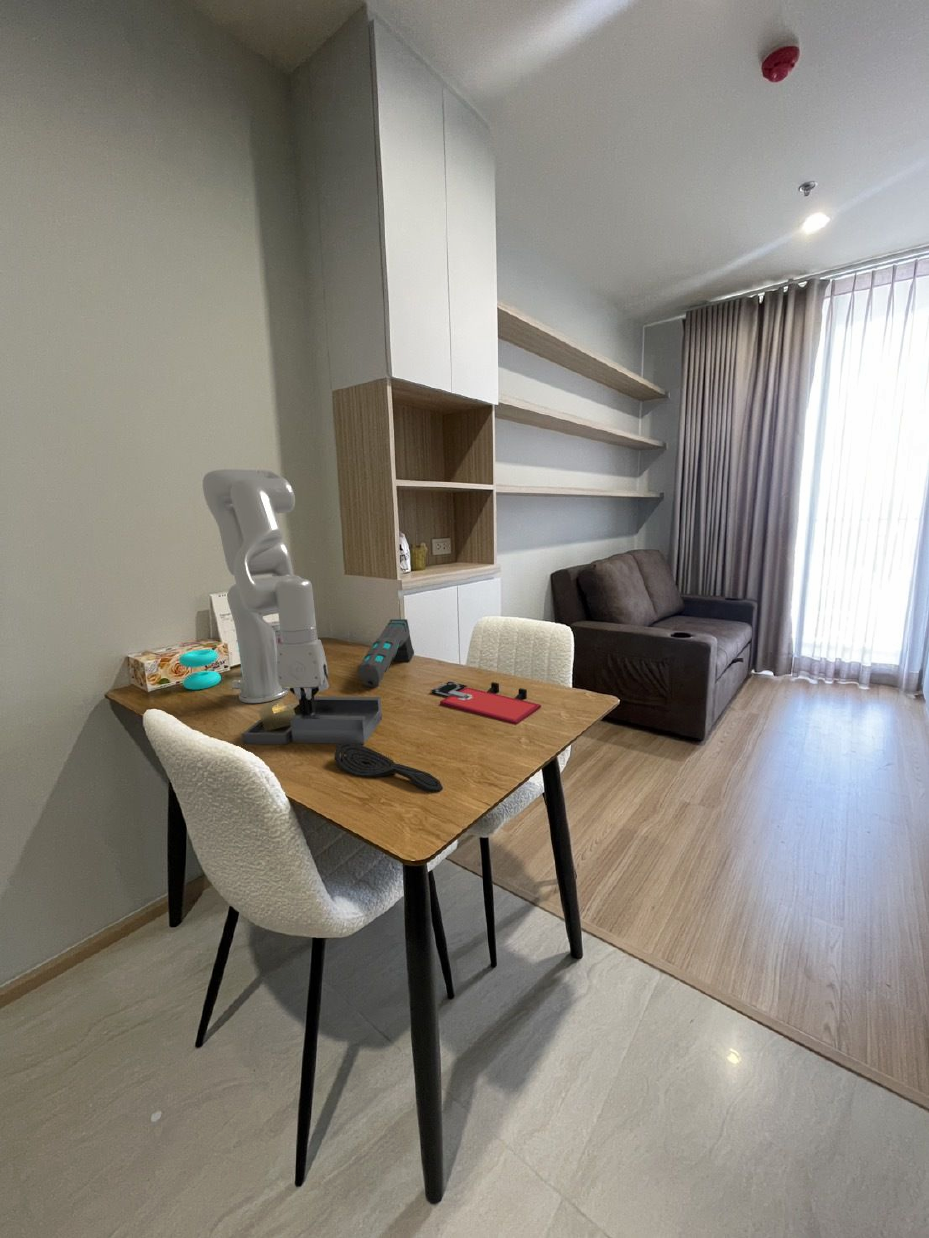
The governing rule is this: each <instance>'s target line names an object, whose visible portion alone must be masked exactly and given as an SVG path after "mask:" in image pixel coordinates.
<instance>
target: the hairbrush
mask: <svg viewBox="0 0 929 1238" xmlns="http://www.w3.org/2000/svg"><path fill="white" fill-rule="evenodd" d="M347 740H348V739H347ZM343 741H344V740H343ZM351 741H352V740H351ZM355 741H356V740H355ZM340 742H342V741H340ZM382 753H383V752H382V751H381V752H380V750H378V751H377V750H375V748H371V747H368V745H366V746H365V745H363V744H360V743H359V744H357V743H350V742H349V743H345V742H343V743H342V744H336V745H335V750H334V761H335V763H336V765H337V766H338V768H339V770H340V771H341V772H344V773H346V774H348V775H351V776H354V777H358V778H359V777H360V778H366V779H368V778H369V779H378V778H380V777H385V776H388V775H391V774H396V775H398V776H401V777H404V778H406V779H407V780H409V781H411V782H412V783H413V784H415V786H417V787H418V788H421V789H423V790H424V791H426V792H428V793H440V792H441V791H442V790H443V784H442V783H441V781H440V780H439V779H438V778H436V777H435V776H434V775H432V774H431V773H429V772H426V771H423V770H420V769H418V768H414V767H410V766H407V765H403V764H401V763H396V762H394V761H393V759H392V758H390V756H389V755H387V756H386V755H385V754H382Z"/></svg>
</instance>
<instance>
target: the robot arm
mask: <svg viewBox="0 0 929 1238" xmlns="http://www.w3.org/2000/svg"><path fill="white" fill-rule="evenodd" d="M202 491H203V497H204V500H205V502H206V505H207V506H208V509H209V511H210V513H211V514H212V516H213V518H214V520H215V523H216V524H217V527H218V530H219V534H220V539H221V545H222V549H223V550H222V551H223V554H224V559H225V563H226V566H227V570H228V572H229V573H230V574H231V575H232V576H233V577H234V581H235V584H233V585H231V587H229V589H228V591H227V593H226V596H227V597H226V598H227V599H226V600H227V604H228V606H229V607H228V608H229V609H230V613H231V617H232V620H233V624H234V628H235V634H236V639H237V640H236V641H237V647H238V653H239V655H238V656H239V661H240V668H241V675H242V680H240V679H234V680H232V683H231V684H232V685H231V689H232V690H240V692H239V695H238V699H239V701H240V702H242V703H245V704H261V703H267V702H268V703H269V702H273V701H276V700H277V699H280V698H282V697H285V696H286V695H287V694H288V693H289V692H290V693H292V694H293V695H294V696H295V698H296V699H297V700H298V702H299V706H300V711H301V713H302V715H311V714H312V713H313V712H314V710H315V699H314V698H315V697H316V696H317V694H318V692H322V691H323V692H324V691H326V690H327V689H328V688H330V685H329V682H328V679H329V669H328V663H327V657H326V653H325V650H324V647H323V644H322V641H321V639H318V630H317V628H318V627H317V620H316V611H315V610H316V609H315V602H314V592H313V591H314V590H313V585H312V582H311V581H310V580H309V579H307V578H302V577H301V576H300V575H297V574H294V569H293V565H292V560H291V555H290V553H289V549H288V547H287V546H286V544H285V542H283V541H282V539H283V532H282V529H281V525H280V522H279V520H278V517H277V515H276V514H289V513H292V511H293V510H294V509H295V505H296V495H295V492H294V489H293V486H291V484H290V482H289V481H288V479H285V478H284V477H283V476H281V475H279V474H277V473H275V472H273V471H271V470H264V469H263V470H261V469H259V470H258V469H237V468H236V469H235V468H234V469H230V468H229V469H228V468H226V469H225V468H224V469H215V470H211V471H208V472H207V473H205V474H204V476H203V479H202ZM266 575H271V576H267V577H259V578H253V577H256V576H266ZM276 614H277V615H278V622H279V623H280V630H279V631H276V633H275V632H274V629H273V628H272V626H271V625H270V624H268V623H269V622H267V621H266V620H265V619H264V617H267V616H269V615H276ZM275 634H276V636H277V637H281V641H282V642H280V643H278V650H277V645H276V637H275Z"/></svg>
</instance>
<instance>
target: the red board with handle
mask: <svg viewBox="0 0 929 1238" xmlns="http://www.w3.org/2000/svg"><path fill="white" fill-rule="evenodd" d="M527 690H528V689H526V688H521V687H520V688H518V694H517V695H516V696H515V697H509V696H506V695H501V694H498V693H500V683H498V682H494V681H493V682H491V683H490V688H489V689H487V691H484V690H480V689H477V688H473V687H468V685H465V684H462V683H457V682H453V681H448V682H445V683H444V684H441V685H439V686H437V687H435V688H433V689H431V690H430V692H432V693H436V694H439V695H443V696H447V697H445V698H443V699H441V700H440V701H439V705H441V706H444V707H448V708H452V709H456V710H459V711H462V712H463V711H464V712H468V713H470V714H471V713H472V714H475V715H479V716H484V717H487V718H491V719H494V720H495V719H496V720H499V721H503V722H507V723H509V724H515V725H519V723H521V722H522V721H524V720H525V719H527V718H528V717H530V716H531V715H532V714H535V713H536V712H538V711H539V710H540V709H541V708H542V704H539V703H535V702H532V701H531V702H530V701H526V699H527V698H528V692H527Z"/></svg>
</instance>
